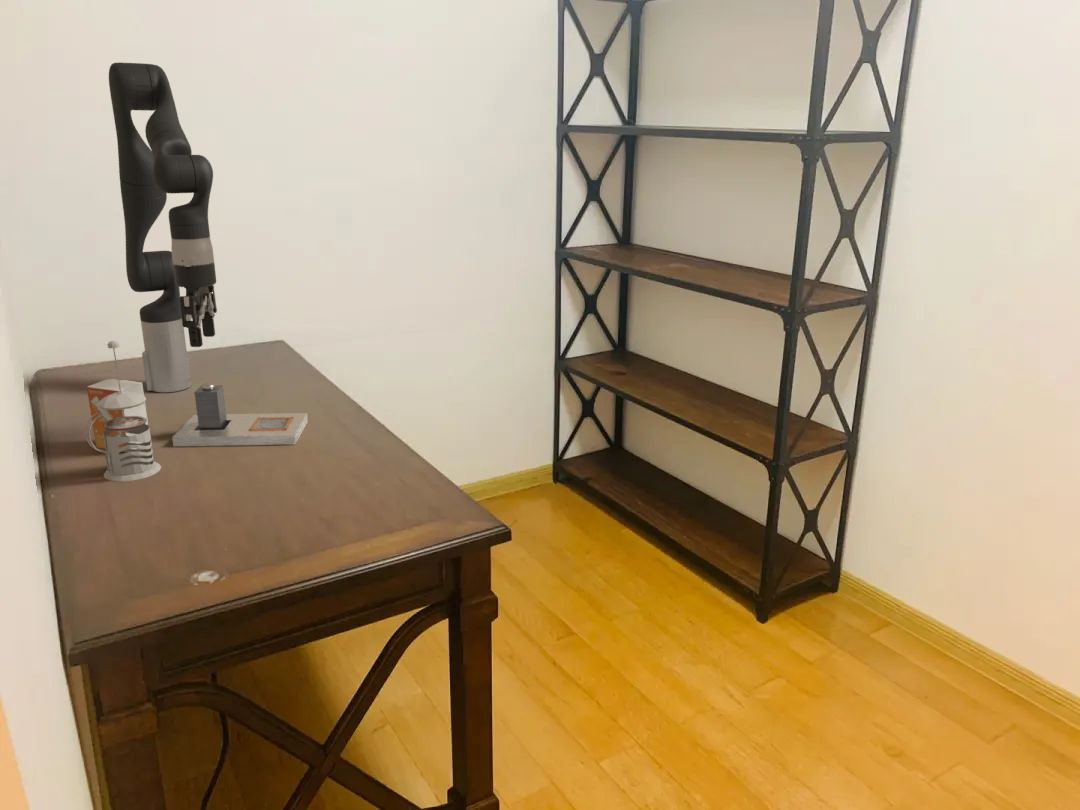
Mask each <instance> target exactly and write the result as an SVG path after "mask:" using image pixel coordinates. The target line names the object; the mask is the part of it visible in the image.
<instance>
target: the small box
mask: <svg viewBox="0 0 1080 810" xmlns="http://www.w3.org/2000/svg"><path fill="white" fill-rule="evenodd" d="M119 382H120V389H121V392H134V393H138V394H140V395H143V396H145V393H144V387H143V386H144V385H143V382H141V381H140V382H139V381H132V380H127V379H119ZM86 390H87V397H88V398H87V399H88V403H89V410H90V416H93V415H94V414H95V413H100V415H103V416H104V421H101V420H100V417H99V418H97V419H96V420H95V422H94V423H93V425H92V428H93V430H92V431H93V435H94V442H95V443H94V444H95V447H96V448H98V449H103V450H106V449H105V443H104V437H103V432H104V430H106V428H105V427H104V424H105V422H106V421H109V420H111V419H114V418H117V417H123V409H122V410H104V409H101V408H99V406H98V405H97V403H98V402H99V401H100V400H101V399H103V398H104V397H106V396H108V395H111V394H113V393H117V392H120V390H119V383H118V378H116V379H115V378H107V379H104V380H101V381H99V382H95V383H92V384H91V385H88V386H86ZM124 414H125V416H126V417H127V416H141V417H144V418H146V420H147V421H146V423H145V424H146V425H148V426H149V421H148V420H149V419H148V415H147V407H146V402H145V403H144V404H142V405H139V406H136V407H133V408H128V409H124ZM98 416H99V414H96V415H95V416H94V417H92V419H91V423H92V422H93V420H94V419H95V418H96V417H98ZM101 419H102V420H103V418H102V416H101ZM117 434H121V435H126V436H134V435H138V434H131V433H126V432H122V431H114V432H112V433H110V434H109V435H108V437H111V436H113V435H117ZM130 443H136V444H140V443H143V442H130ZM125 446H128V445H124V444H120V445H118V447H125ZM107 447H108V446H107ZM132 449H136V450H139V448H132ZM121 452H122V453H128V451H121ZM121 452H120V453H121Z"/></svg>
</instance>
